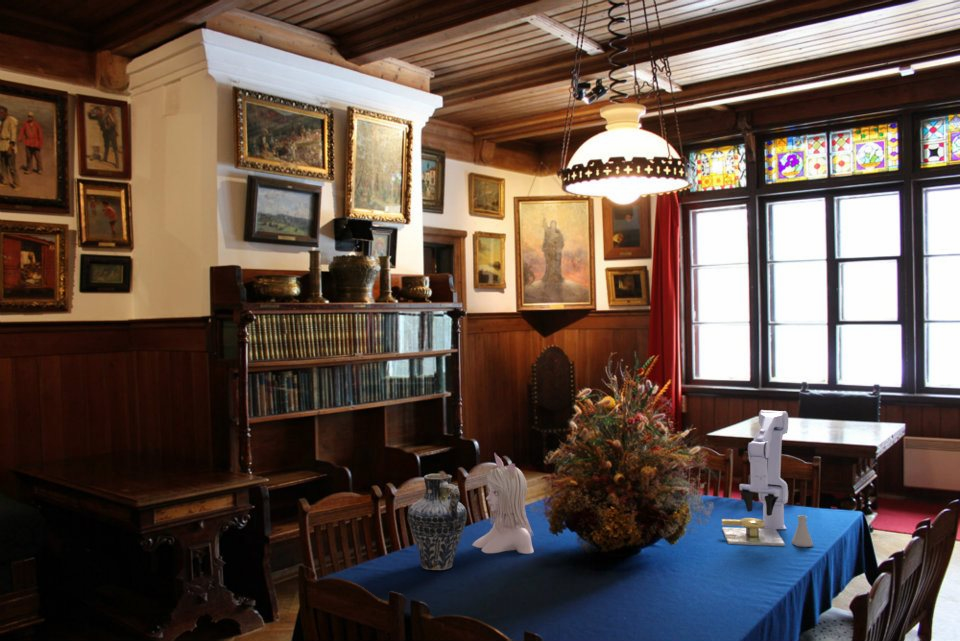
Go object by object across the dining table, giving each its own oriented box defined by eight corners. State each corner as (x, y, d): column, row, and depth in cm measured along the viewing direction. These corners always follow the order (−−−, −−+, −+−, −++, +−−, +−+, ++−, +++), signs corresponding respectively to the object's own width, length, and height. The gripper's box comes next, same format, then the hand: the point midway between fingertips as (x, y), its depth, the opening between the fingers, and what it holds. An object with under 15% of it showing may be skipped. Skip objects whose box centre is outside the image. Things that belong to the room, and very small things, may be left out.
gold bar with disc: (762, 530, 288) (762, 518, 288) (766, 537, 279) (766, 524, 279) (721, 529, 291) (720, 516, 290) (723, 535, 282) (723, 523, 282)
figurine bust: (463, 539, 289) (461, 452, 288) (512, 531, 297) (511, 447, 297) (494, 559, 265) (492, 464, 264) (546, 550, 273) (545, 459, 273)
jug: (396, 567, 258) (394, 476, 257) (438, 553, 272) (437, 467, 272) (440, 581, 244) (438, 485, 243) (482, 565, 258) (480, 474, 257)
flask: (817, 547, 272) (816, 518, 272) (796, 547, 272) (795, 519, 272) (808, 541, 279) (808, 513, 279) (788, 541, 279) (788, 513, 279)
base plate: (722, 529, 295) (722, 518, 295) (775, 531, 291) (775, 520, 291) (728, 543, 277) (727, 532, 277) (784, 546, 274) (784, 534, 274)
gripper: (734, 473, 282) (735, 511, 283) (771, 480, 271) (772, 519, 271) (745, 470, 287) (745, 507, 287) (782, 476, 276) (782, 515, 276)
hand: (759, 513), depth 280 cm, fingers open, 7 cm apart
